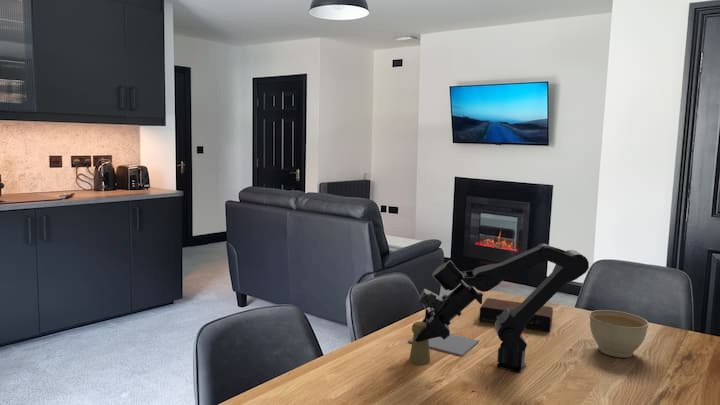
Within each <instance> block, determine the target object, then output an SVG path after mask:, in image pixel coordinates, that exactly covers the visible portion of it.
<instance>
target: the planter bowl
mask: <svg viewBox="0 0 720 405" xmlns="http://www.w3.org/2000/svg"><path fill="white" fill-rule="evenodd" d="M589 328H590V331H591V334H592V337H593V339H594V341H595V343H596V345H597V348H598V351H600V352H601V353H602V354H605V355H607V356H611V357H614V358H615V357H616V358H631V357H632V356H633V355H634V353H635V352H636V351H637V349H639V348H640V346H641V345H642V344H643V343H644V340H645V339H646V336H647V331H648V328H649V321H647V320H646V319H645V318H643V317H641V316H638V315H636V314H632V313H628V312H624V311H618V310H611V309H610V310H608V309H607V310H606V309H605V310H604V309H598V310H592V311H591V312H589Z"/></svg>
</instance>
